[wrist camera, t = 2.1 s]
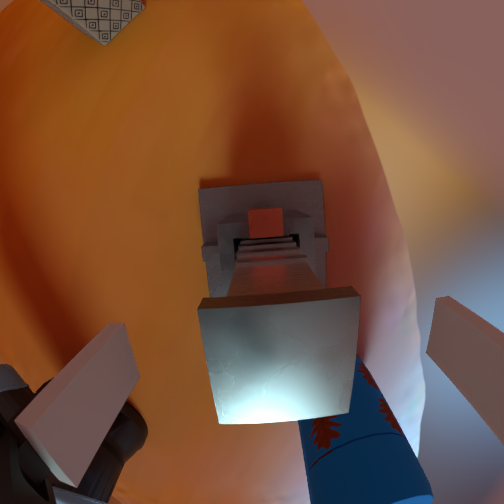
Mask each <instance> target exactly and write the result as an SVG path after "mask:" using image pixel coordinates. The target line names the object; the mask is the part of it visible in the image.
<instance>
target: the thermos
mask: <svg viewBox="0 0 504 504" xmlns="http://www.w3.org/2000/svg"><path fill="white" fill-rule="evenodd" d="M298 424H299V430H300V436H301V443H302V449H303V455H304V462H305V468H306V475H307V482H308V488H309V495H310V502H311V504H431V503H432V501H433V499H434V497H433V494H432V490H431V487H430V483H429V481H428V480H427V477H426V475H425V474H424V471H423V469H422V467H421V466H420V463H419V462H418V459H417V457H416V456H415V454H414V452H413V450H412V448H411V446H410V444H409V442H408V440H407V438H406V436H405V435H404V433H403V431H402V429H401V427H400V425H399V423H398V422H397V420H396V418H395V416H394V414H393V412H392V411H391V409H390V407H389V405H388V403H387V402H386V400H385V398H384V396H383V394H382V393H381V391H380V389H379V387H378V386H377V384H376V382H375V380H374V379H373V377H372V375H371V373H370V372H369V371H368V369H367V368H366V366H365V365H364V363H363V362H362V361H361V359H360V358H359V357H358V355H357V354H356V361H355V370H354V378H353V385H352V393H351V399H350V406H349V412H348V413H344V414H338V415H332V416H325V417H318V418H311V419H303V420H298Z"/></svg>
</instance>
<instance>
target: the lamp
mask: <svg viewBox="0 0 504 504" xmlns="http://www.w3.org/2000/svg"><path fill="white" fill-rule="evenodd" d="M40 1H41V2H43V3H44V4H45V5H47V6H48V7H50V8H51V9H52V10H54V11H55V12H56V13H58V14H59V15H60V16H61V17H63V18H64V19H65V20H67V21H68V22H69V23H71V24H72V25H73V26H74V27H76V28H77V29H78V30H79V31H81V32H83V33H84V34H86V35H88V36H89V37H91V38H93V39H94V40H96V41H97V42H99V43H101V44H102V45H104V46H106V45H107V44H108V43H109V42H110V41H111V40H112V39H113V38H114V37H115V36H116V35H117V34H118V33H119V32H120V31H121V30H122V29H123V28H124V27H125V26H126V25H127V24H128V23H129V22H130V21H131V20H132V19H133V18H134V17H135V16H137V15H138V14H139V13H140V12H141V11H142V10H143V9H144V8H145V6H144V4H143V3H142V1H141V0H40Z"/></svg>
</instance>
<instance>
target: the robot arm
mask: <svg viewBox="0 0 504 504" xmlns="http://www.w3.org/2000/svg"><path fill="white" fill-rule="evenodd" d="M426 353H427V354H428V356H429V357H430V358H431V359H432V360H433V361H434V362H435V363H436V364H437V366H438V367H439V368H440V369H441V370H442V371H443V372H444V373H445V375H446V376H447V377H448V378H449V379H450V380H451V381H452V383H453V384H454V385H455V386H456V387H457V388H458V389H459V390H460V392H461V393H462V394H463V395H464V397H465V398H466V399H467V400H468V401H469V403H470V404H471V405H472V406H473V407H474V409H475V410H476V411H477V412H478V414H479V415H480V416H481V417H482V419H483V420H484V421H485V422H486V423H487V425H488V426H489V427H490V429H491V430H492V431H493V432H494V434H495V435H496V436H497V438H498V439H499V440H500V442H501V443H502V444H503V445H504V333H503V332H501V331H500V330H499V329H497V328H496V327H494V326H493V325H491V324H490V323H488V322H487V321H486V320H484V319H483V318H481V317H480V316H478V315H477V314H475V313H474V312H472V311H471V310H469V309H468V308H466V307H465V306H463V305H462V304H460V303H459V302H457V301H456V300H454V299H453V298H451V297H449V296H446V297H440V298H436V301H435V308H434V314H433V320H432V326H431V332H430V336H429V341H428V346H427V351H426ZM139 378H140V375H139V372H138V369H137V365H136V362H135V359H134V356H133V352H132V349H131V346H130V342H129V339H128V335H127V331H126V328H125V324H124V323H109V324H108V325H106V326H105V327H104V328H103V329H102V330H101V331H100V332H99V333H98V334H97V335H96V336H95V337H94V338H93V339H92V340H91V341H90V342H89V343H88V344H87V345H86V346H85V347H84V348H83V349H82V350H81V351H80V352H79V353H78V354H77V355H76V356H75V357H74V358H73V359H72V360H71V361H70V362H69V363H68V364H67V365H66V366H65V367H64V368H63V369H62V370H61V371H60V372H59V373H58V374H57V375H56V376H55V377H54V378H52V379H50V380H49V381H47V382H45V383H44V384H43V385H42V386H41V387H40V388H39V389H38V390H37V391H36V393H33V392H32V391H31V389H30V388H29V385H28V384H26V383H25V382H24V380H23V379H22V378H21V377H20V375H19V374H18V373H17V372H16V370H15V369H14V368H13V367H12V366H10V365H8V364H1V365H0V504H108V502H109V500H110V497H111V495H112V492H113V490H114V487H115V485H116V483H117V480H118V478H119V475H120V473H121V471H122V468H123V466H124V464H125V462H126V461H127V460H129V459H130V458H131V457H132V456H133V455H134V454H135V453H136V452H137V451H138V450H139V449H141V448H142V446H143V445H144V443H145V440H146V438H147V435H148V430H147V426H146V424H145V422H144V420H143V419H142V417H141V416H140V415H139V413H138V412H137V411H136V410H135V409H134V408H133V407H132V406H130V405H129V404H128V403H127V402H125V401H126V400H127V398H128V396H129V395H130V393H131V391H132V390H133V388H134V386H135V384H136V383H137V381H138V379H139Z"/></svg>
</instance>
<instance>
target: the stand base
mask: <svg viewBox="0 0 504 504" xmlns="http://www.w3.org/2000/svg"><path fill="white" fill-rule="evenodd" d="M198 193H199V204H200V214H201V224H202V234H203V243H204V245H203V246H202V247H201V249H202V257H203V261H206V269H207V277H208V285H209V292H210V298H212V297H227V293H228V290H229V286H230V283H231V279H232V276H233V260H236V251H238V246H239V245H240V240H241V239H242V238H245V237H250V239H252V238H265V237H278V236H284V235H285V234H289V236H292V241H295V242H296V247H300V248H301V255H306V256H307V257H308V265H309V266H310V268H311V269H312V271H313V272H314V274H315V275H316V276H317V278H318V279H319V281H320V282H321V284H322V285H323V287H324V288H325V289H326V252H329V244H328V237H327V236H326V235H325V223H324V204H323V188H322V180H309V181H289V182H273V183H259V184H246V185H235V186H224V187H214V188H205V189H198Z"/></svg>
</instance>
